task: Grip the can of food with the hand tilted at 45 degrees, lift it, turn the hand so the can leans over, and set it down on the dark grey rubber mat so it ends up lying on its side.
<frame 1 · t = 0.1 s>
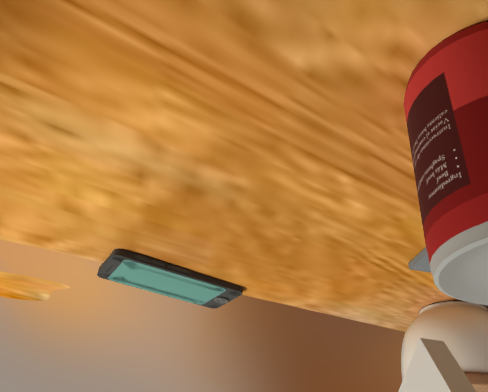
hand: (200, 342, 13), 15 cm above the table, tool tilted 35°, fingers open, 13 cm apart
canned food: (481, 75, 23), on the table
smartphone: (172, 274, 49), on the table
lidded bowl: (452, 310, 49), on the table
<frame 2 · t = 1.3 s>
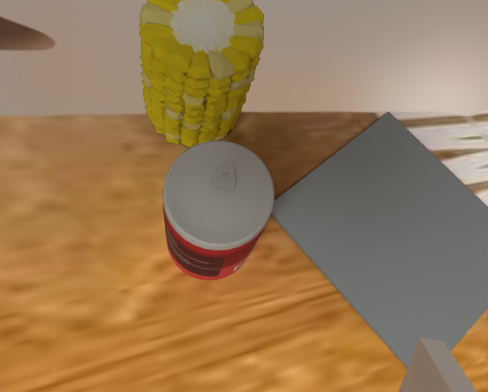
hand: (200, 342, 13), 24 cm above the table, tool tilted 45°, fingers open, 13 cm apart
canned food: (209, 239, 40), on the table
food: (195, 117, 44), on the table
rubber mat: (401, 232, 42), on the table
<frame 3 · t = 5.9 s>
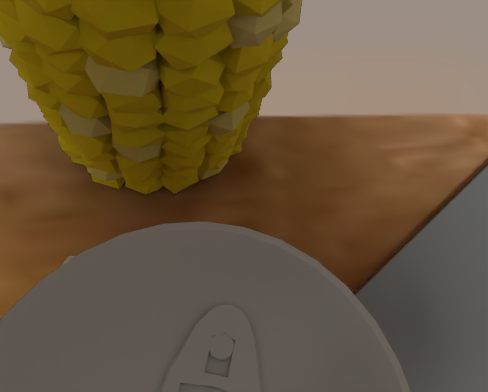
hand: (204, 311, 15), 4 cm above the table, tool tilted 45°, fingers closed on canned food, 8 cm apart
food: (160, 127, 22), on the table
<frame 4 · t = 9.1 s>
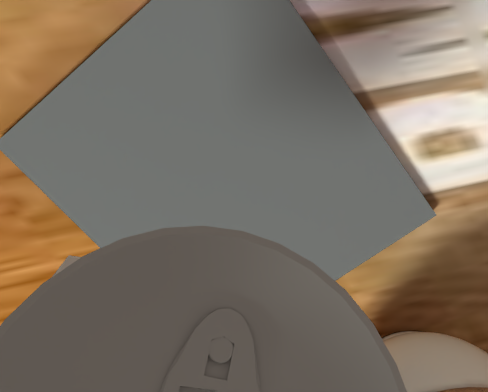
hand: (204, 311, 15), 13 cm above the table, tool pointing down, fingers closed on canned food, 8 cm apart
lidded bowl: (403, 368, 32), on the table
rubber mat: (223, 177, 27), on the table
when the fingers open (6 cm above the table, at t = 11.3 s): canned food moves 3 cm, resting on rubber mat.
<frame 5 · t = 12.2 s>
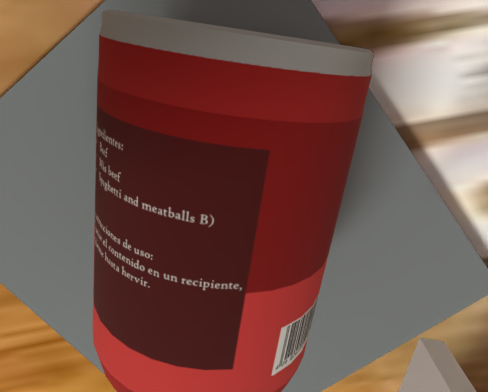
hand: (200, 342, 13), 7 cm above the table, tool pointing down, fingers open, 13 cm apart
canned food: (199, 345, 16), point 5 cm above the table, touching rubber mat
rubber mat: (214, 236, 20), on the table
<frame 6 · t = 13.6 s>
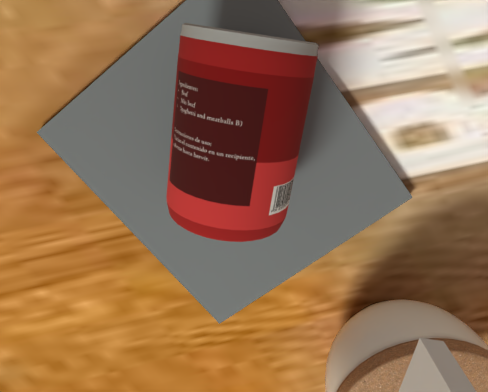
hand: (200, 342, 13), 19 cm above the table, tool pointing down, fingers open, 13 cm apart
canned food: (225, 218, 28), point 5 cm above the table, touching rubber mat
lidded bowl: (386, 335, 37), on the table
rubber mat: (229, 163, 31), on the table
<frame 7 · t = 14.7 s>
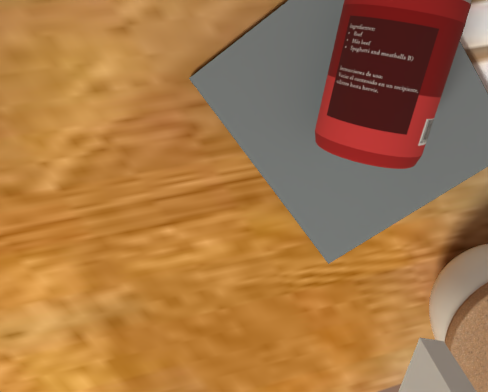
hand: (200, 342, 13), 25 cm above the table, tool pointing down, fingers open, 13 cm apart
canned food: (363, 155, 31), point 5 cm above the table, touching rubber mat
lidded bowl: (476, 280, 40), on the table
rubber mat: (354, 112, 35), on the table
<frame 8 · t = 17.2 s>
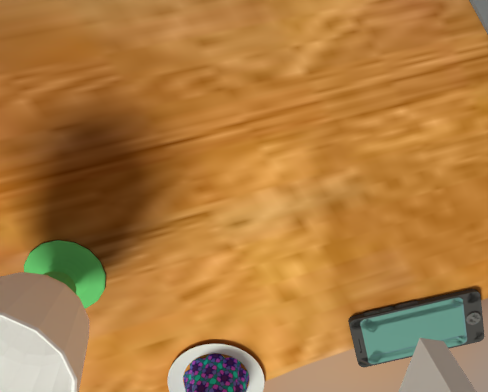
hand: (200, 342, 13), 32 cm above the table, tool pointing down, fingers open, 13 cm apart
smartphone: (413, 323, 52), on the table
cup: (66, 275, 49), on the table
pudding: (216, 377, 55), on the table
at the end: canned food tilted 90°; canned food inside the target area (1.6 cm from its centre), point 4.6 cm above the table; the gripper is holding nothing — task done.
